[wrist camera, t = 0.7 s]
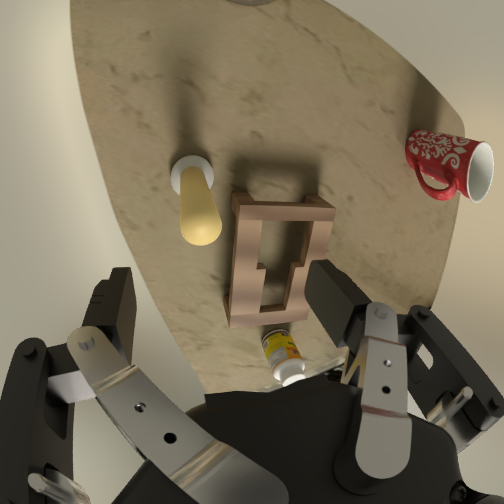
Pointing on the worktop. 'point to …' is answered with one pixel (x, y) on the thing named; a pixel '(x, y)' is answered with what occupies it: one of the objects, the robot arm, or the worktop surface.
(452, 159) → the mug
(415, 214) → the worktop surface
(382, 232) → the worktop surface
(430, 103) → the worktop surface
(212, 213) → the peg
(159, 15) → the worktop surface
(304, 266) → the keyhole board
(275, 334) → the supplement bottle
